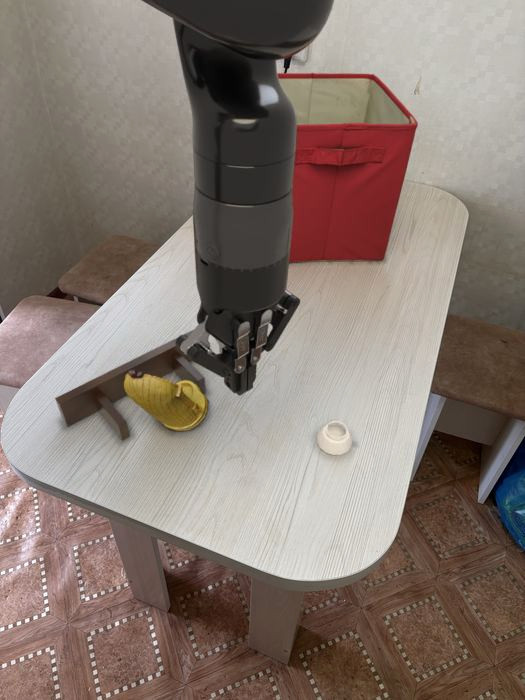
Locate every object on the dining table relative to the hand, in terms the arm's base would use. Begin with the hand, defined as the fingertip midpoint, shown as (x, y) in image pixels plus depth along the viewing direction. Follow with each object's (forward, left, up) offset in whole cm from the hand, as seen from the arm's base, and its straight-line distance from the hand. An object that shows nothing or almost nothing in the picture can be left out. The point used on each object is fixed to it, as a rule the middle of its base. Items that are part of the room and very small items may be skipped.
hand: (239, 387), depth 51 cm
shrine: (0, +15, -21) cm, 26 cm away
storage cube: (+55, +42, -21) cm, 72 cm away
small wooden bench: (0, +21, -21) cm, 30 cm away
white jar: (+16, -2, -21) cm, 27 cm away
